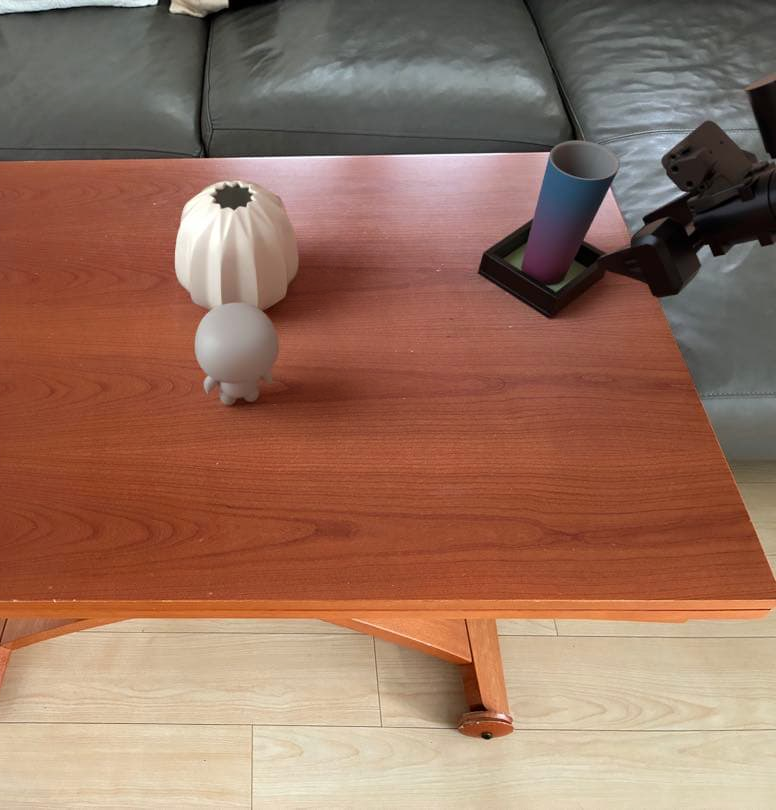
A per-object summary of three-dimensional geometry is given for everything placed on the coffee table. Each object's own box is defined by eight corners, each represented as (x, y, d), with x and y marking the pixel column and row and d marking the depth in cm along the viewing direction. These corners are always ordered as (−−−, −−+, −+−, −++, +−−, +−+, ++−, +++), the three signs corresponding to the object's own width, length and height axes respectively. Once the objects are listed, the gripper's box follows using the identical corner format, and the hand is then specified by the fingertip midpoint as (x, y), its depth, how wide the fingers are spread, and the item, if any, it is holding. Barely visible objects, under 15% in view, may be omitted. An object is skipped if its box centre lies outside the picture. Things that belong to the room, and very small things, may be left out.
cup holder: (603, 277, 90) (612, 256, 87) (549, 319, 86) (557, 298, 83) (531, 235, 95) (538, 214, 92) (477, 273, 91) (483, 252, 88)
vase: (310, 264, 93) (315, 169, 82) (271, 344, 85) (271, 251, 75) (206, 240, 96) (197, 146, 86) (159, 315, 89) (144, 222, 78)
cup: (551, 299, 87) (596, 188, 75) (501, 270, 90) (536, 159, 78) (585, 270, 89) (633, 159, 78) (535, 243, 93) (573, 132, 81)
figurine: (270, 367, 83) (269, 285, 74) (284, 422, 78) (286, 342, 69) (196, 379, 82) (186, 298, 73) (206, 435, 78) (197, 356, 68)
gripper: (799, 70, 68) (636, 134, 82) (698, 161, 60) (537, 215, 74) (842, 183, 70) (677, 226, 84) (750, 284, 63) (585, 313, 77)
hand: (621, 242), depth 80 cm, fingers open, 9 cm apart
